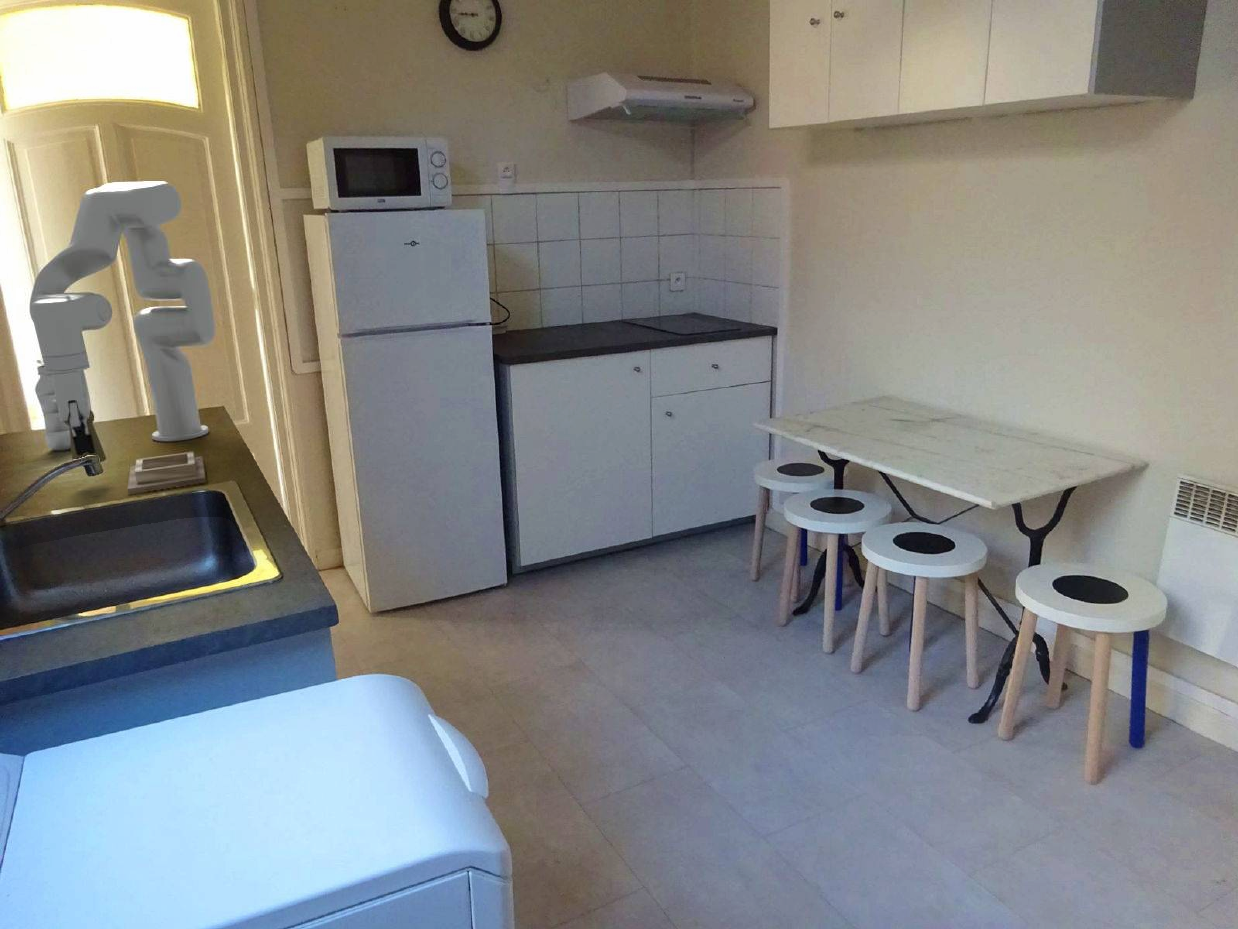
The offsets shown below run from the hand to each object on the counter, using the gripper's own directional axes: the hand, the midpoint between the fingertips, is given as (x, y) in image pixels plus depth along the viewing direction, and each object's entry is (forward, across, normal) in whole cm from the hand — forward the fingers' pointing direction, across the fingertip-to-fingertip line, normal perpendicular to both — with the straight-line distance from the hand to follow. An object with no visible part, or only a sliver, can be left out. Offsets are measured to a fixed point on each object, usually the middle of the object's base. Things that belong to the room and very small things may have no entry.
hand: (86, 450), depth 177 cm
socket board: (+7, +3, +14) cm, 16 cm away
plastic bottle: (+8, -36, -8) cm, 38 cm away
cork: (+3, 0, 0) cm, 3 cm away
